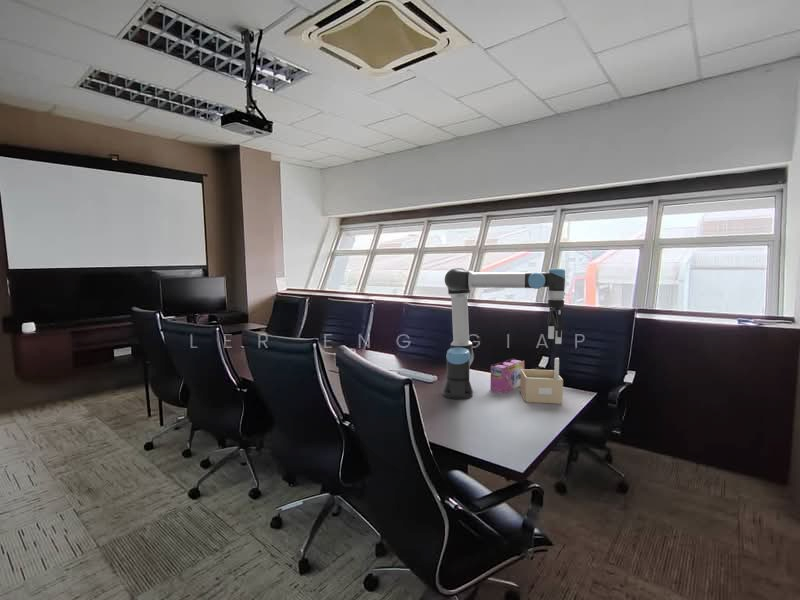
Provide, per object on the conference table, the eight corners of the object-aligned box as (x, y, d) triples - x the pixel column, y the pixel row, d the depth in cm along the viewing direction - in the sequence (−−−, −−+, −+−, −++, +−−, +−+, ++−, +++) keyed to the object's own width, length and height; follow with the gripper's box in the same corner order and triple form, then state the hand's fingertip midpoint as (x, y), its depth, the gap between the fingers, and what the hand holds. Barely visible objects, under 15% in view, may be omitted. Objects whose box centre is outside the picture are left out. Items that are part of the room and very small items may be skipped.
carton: (525, 401, 192) (525, 377, 191) (520, 391, 208) (520, 368, 208) (561, 403, 189) (562, 379, 188) (553, 392, 206) (554, 369, 205)
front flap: (526, 402, 190) (527, 358, 188) (525, 401, 192) (526, 357, 190) (562, 404, 188) (564, 359, 186) (561, 402, 190) (563, 358, 188)
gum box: (513, 381, 227) (513, 357, 226) (526, 384, 221) (526, 360, 220) (489, 390, 210) (490, 365, 209) (502, 393, 205) (503, 367, 203)
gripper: (571, 301, 185) (569, 346, 187) (556, 297, 209) (555, 336, 211) (555, 301, 186) (553, 345, 187) (542, 297, 210) (540, 336, 212)
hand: (554, 341), depth 199 cm, fingers open, 13 cm apart
